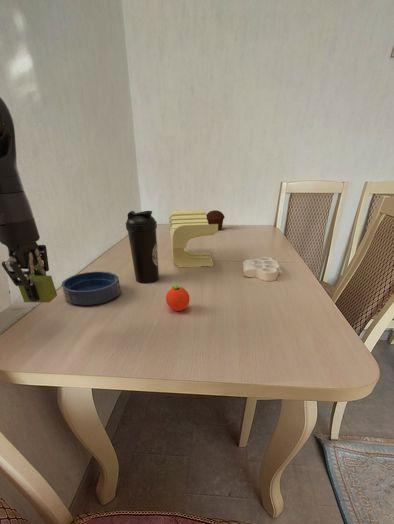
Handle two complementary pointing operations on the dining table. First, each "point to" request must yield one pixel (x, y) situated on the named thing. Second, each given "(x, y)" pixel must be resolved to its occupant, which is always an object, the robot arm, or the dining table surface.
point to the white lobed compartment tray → (262, 268)
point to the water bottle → (143, 245)
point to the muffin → (215, 218)
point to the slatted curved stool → (189, 236)
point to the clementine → (177, 298)
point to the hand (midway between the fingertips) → (39, 295)
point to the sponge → (41, 289)
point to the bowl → (91, 288)
